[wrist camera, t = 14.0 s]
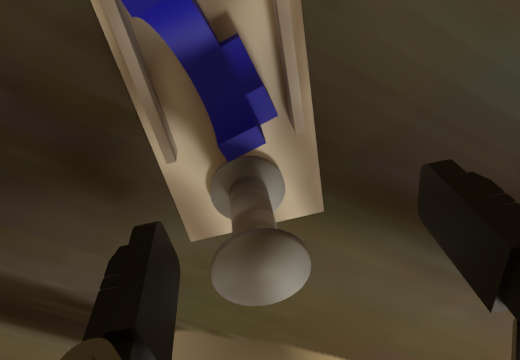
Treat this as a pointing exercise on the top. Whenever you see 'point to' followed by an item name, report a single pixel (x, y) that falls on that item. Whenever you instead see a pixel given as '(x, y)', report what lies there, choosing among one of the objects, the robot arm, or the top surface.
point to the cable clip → (213, 72)
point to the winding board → (209, 155)
